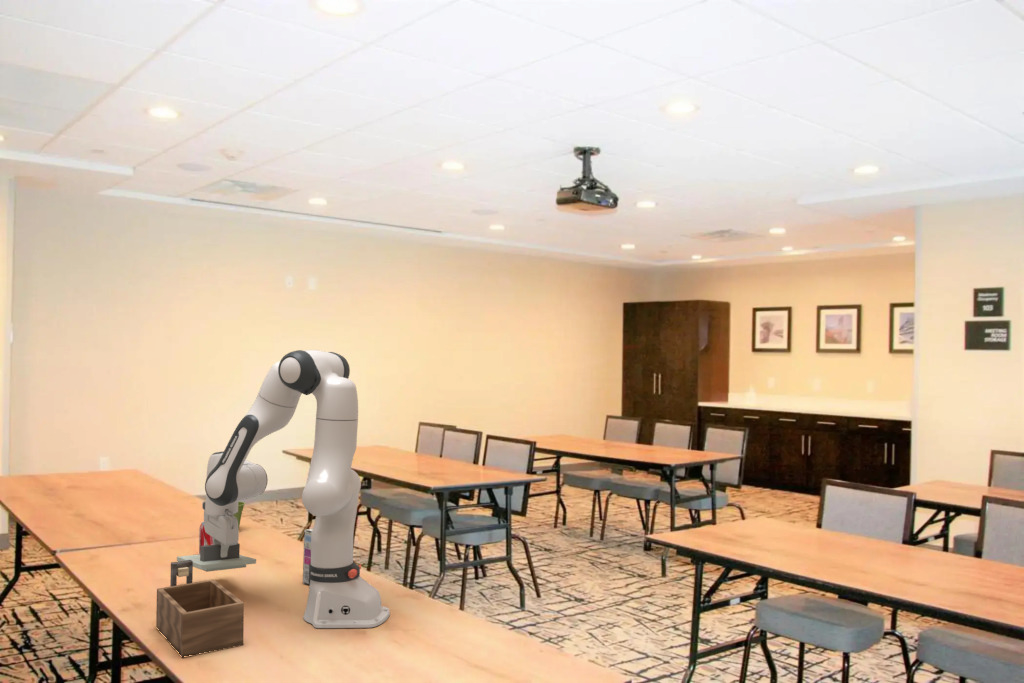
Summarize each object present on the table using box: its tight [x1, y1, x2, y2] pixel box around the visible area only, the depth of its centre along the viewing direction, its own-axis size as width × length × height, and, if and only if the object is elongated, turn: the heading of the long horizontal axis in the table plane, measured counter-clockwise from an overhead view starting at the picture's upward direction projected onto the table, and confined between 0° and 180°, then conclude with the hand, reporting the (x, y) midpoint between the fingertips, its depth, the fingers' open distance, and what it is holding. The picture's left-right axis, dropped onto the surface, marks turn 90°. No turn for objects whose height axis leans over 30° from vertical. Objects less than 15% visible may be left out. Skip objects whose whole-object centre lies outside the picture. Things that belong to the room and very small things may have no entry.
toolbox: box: [155, 560, 245, 657], centre depth 195 cm, size 29×14×15 cm, turn 38°
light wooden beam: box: [177, 566, 189, 578], centre depth 207 cm, size 8×2×2 cm, turn 38°
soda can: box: [198, 521, 213, 555], centre depth 265 cm, size 6×6×12 cm
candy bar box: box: [302, 527, 313, 587], centre depth 239 cm, size 11×5×16 cm, turn 141°
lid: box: [176, 542, 257, 572], centre depth 227 cm, size 25×15×6 cm, turn 37°
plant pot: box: [233, 501, 246, 532], centre depth 302 cm, size 12×12×11 cm
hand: (220, 554), depth 224 cm, fingers closed on lid, 4 cm apart
